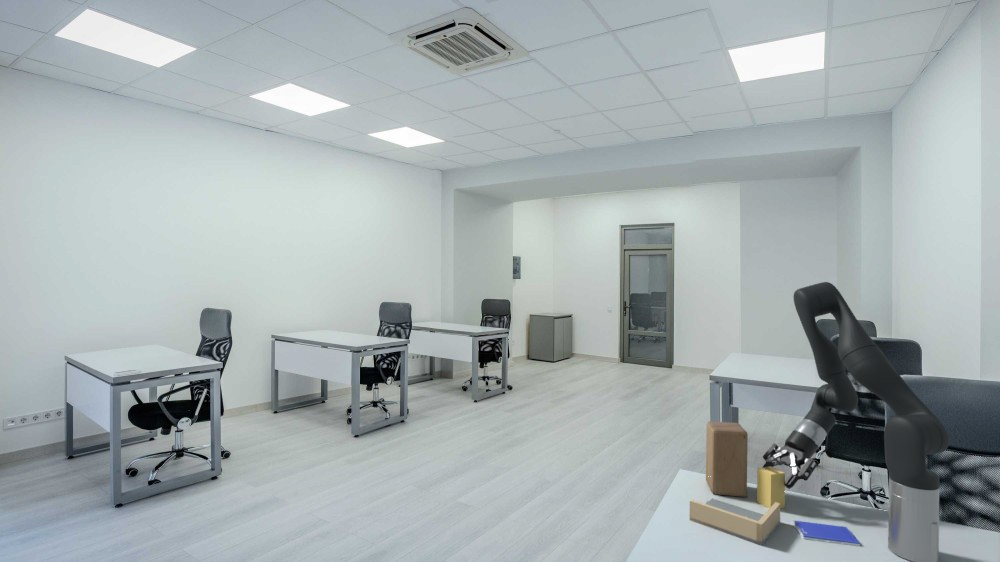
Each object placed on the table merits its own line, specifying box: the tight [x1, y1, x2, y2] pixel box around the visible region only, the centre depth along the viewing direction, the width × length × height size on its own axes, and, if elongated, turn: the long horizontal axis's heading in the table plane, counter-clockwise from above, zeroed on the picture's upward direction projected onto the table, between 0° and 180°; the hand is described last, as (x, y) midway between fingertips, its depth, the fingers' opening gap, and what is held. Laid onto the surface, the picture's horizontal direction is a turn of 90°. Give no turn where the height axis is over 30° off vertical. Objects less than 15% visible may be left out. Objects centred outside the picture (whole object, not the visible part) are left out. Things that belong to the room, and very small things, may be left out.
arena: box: [689, 498, 781, 546], centre depth 133 cm, size 18×16×5 cm
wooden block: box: [705, 420, 749, 498], centre depth 152 cm, size 10×10×20 cm
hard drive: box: [792, 520, 861, 547], centre depth 126 cm, size 2×8×12 cm
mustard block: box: [756, 466, 786, 510], centre depth 143 cm, size 5×5×10 cm
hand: (774, 480), depth 143 cm, fingers open, 8 cm apart
